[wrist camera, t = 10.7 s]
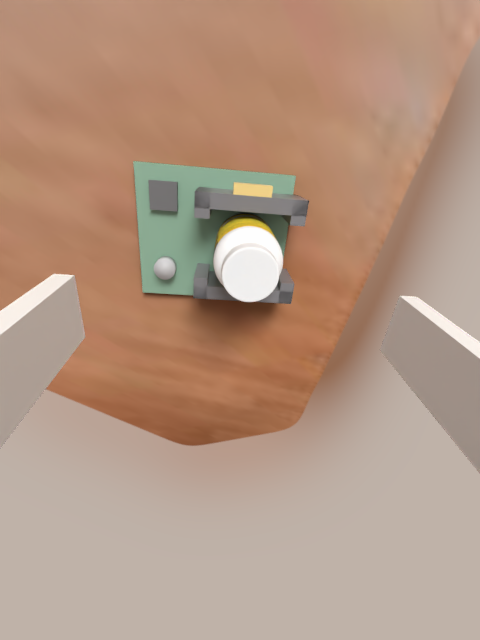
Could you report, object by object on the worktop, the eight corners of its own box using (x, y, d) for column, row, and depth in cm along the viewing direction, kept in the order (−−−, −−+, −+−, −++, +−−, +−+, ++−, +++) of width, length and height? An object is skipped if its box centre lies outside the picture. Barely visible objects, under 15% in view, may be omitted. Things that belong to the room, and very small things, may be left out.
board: (144, 289, 32) (139, 297, 30) (135, 161, 27) (129, 161, 25) (275, 297, 33) (278, 305, 31) (293, 175, 28) (298, 176, 26)
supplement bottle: (207, 221, 28) (200, 248, 20) (264, 204, 28) (281, 224, 19) (225, 274, 31) (225, 319, 22) (277, 259, 30) (297, 299, 22)
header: (197, 281, 31) (193, 298, 27) (199, 176, 27) (194, 179, 23) (283, 286, 32) (290, 303, 28) (299, 185, 27) (310, 189, 24)
